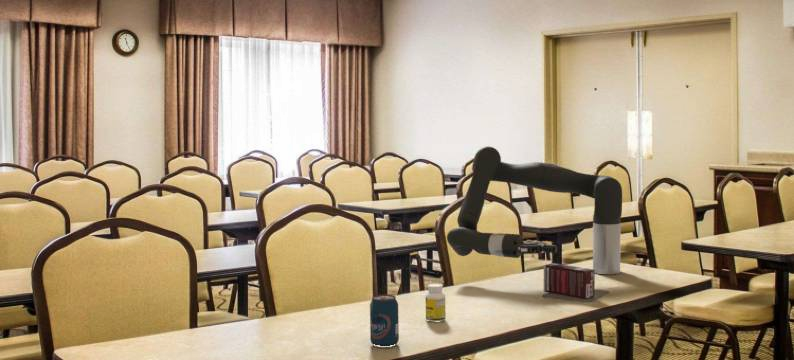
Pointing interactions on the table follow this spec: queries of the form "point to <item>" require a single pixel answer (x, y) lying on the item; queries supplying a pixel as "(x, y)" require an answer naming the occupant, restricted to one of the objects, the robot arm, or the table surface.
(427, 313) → the supplement bottle
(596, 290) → the mat
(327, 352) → the table surface
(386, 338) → the soda can
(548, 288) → the supplement box
